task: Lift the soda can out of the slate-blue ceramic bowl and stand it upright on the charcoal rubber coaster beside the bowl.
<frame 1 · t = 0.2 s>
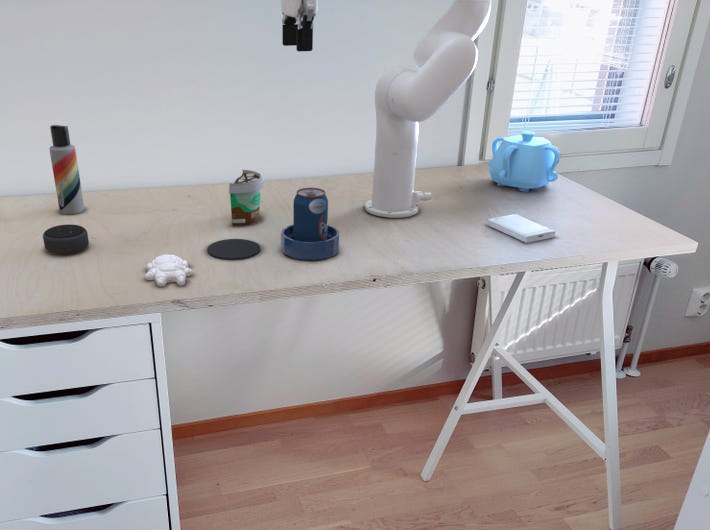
hand: (297, 48, 145), 37 cm above the table, tool pointing down, fingers open, 9 cm apart
lotion bottle: (72, 211, 169), on the table
astronaut figurine: (168, 276, 136), on the table
bowl: (310, 250, 147), on the table
food container: (250, 220, 164), on the table
hard drive: (519, 232, 157), on the table
soda can: (310, 249, 147), resting on bowl
coaster: (233, 250, 147), on the table
smart speaker: (67, 249, 148), on the table
decorative pot: (519, 185, 188), on the table
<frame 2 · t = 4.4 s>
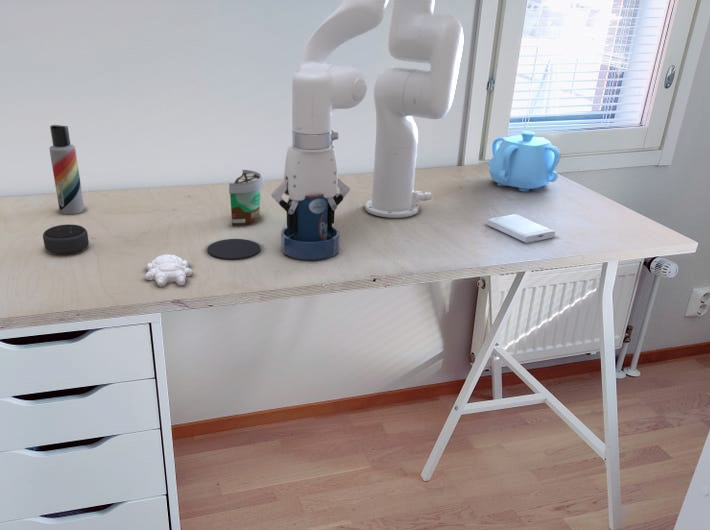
hand: (310, 228, 145), 5 cm above the table, tool pointing down, fingers closed on soda can, 7 cm apart
soda can: (310, 249, 147), resting on bowl, touching gripper
everything else where it was.
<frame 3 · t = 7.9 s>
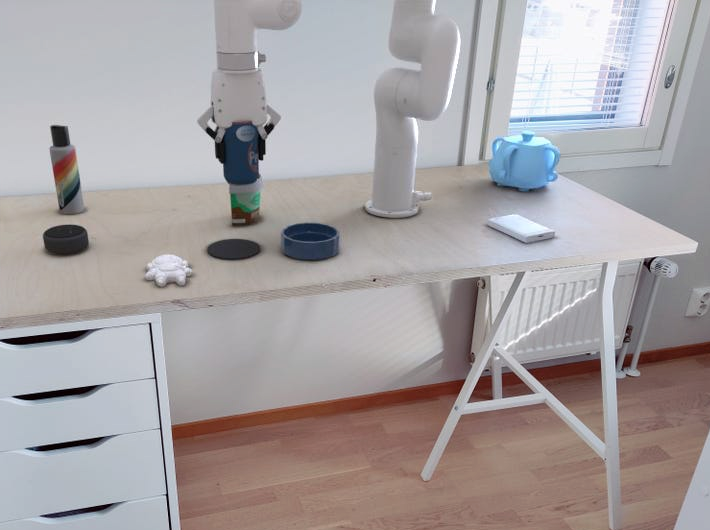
hand: (240, 159, 138), 19 cm above the table, tool pointing down, fingers closed on soda can, 7 cm apart
soda can: (241, 183, 140), point 14 cm above the table, touching gripper
everything else where it was.
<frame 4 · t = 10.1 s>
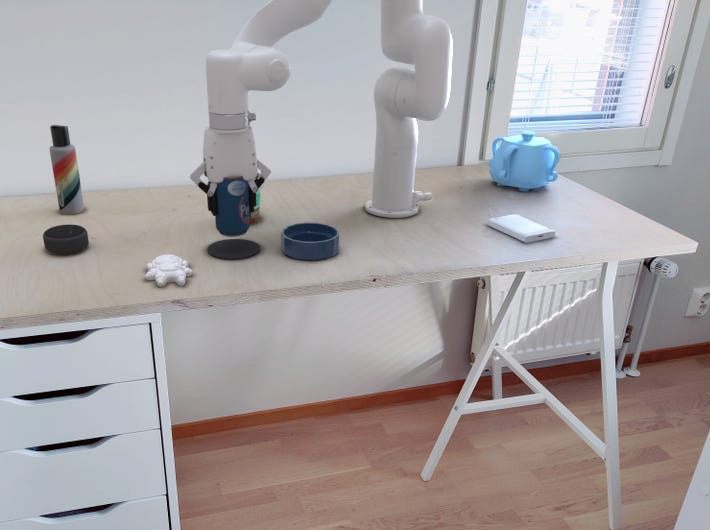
hand: (232, 211, 143), 8 cm above the table, tool pointing down, fingers closed on soda can, 7 cm apart
soda can: (233, 233, 146), point 4 cm above the table, touching gripper
everything else where it was.
when the fingers open (5 cm above the table, at t = 11.6 s): soda can stays where it is, resting on coaster.
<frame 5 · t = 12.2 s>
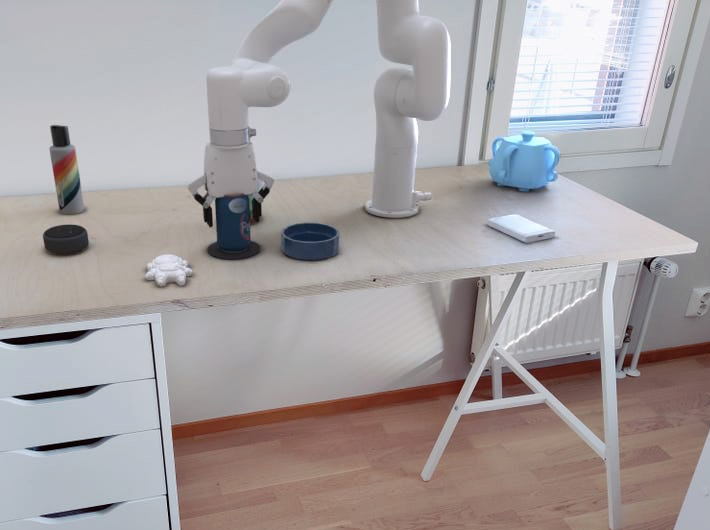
hand: (233, 222, 145), 6 cm above the table, tool pointing down, fingers open, 9 cm apart
soda can: (234, 249, 147), resting on coaster
everything else where it was.
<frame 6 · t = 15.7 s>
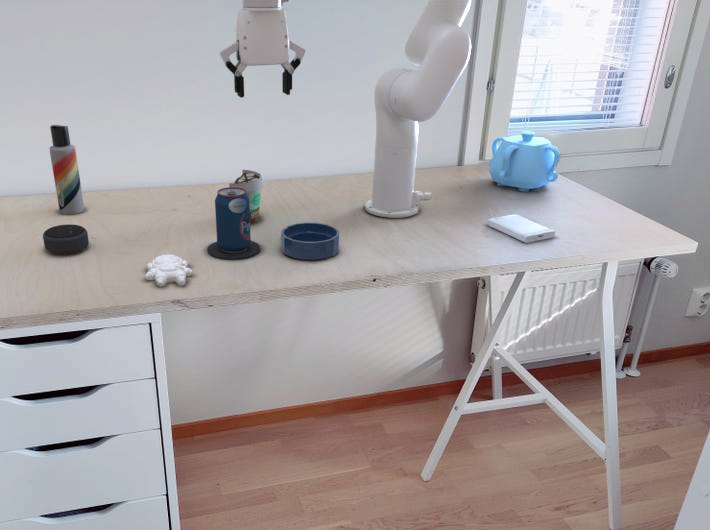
hand: (263, 95, 145), 28 cm above the table, tool pointing down, fingers open, 9 cm apart
nothing on the table moved.
at the end: soda can 0.1 cm from the coaster (horizontally); soda can touching coaster; soda can tilted 0° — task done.
